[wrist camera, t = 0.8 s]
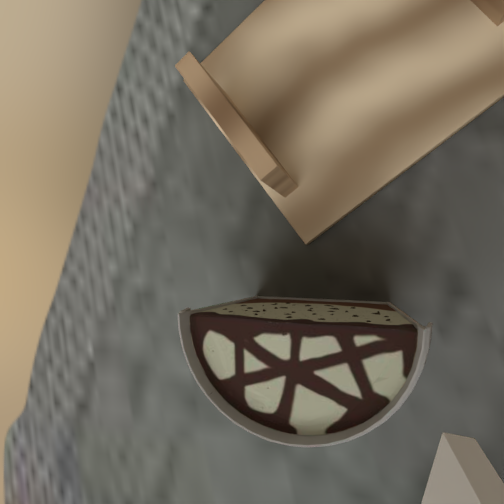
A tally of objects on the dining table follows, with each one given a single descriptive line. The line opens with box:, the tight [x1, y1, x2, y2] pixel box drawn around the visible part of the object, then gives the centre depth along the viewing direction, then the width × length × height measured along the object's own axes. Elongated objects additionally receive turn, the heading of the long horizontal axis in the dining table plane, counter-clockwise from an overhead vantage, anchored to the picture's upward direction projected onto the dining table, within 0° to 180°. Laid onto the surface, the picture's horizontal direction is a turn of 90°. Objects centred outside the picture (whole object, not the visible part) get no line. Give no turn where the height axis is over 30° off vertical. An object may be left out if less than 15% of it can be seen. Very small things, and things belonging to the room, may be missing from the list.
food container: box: [178, 296, 433, 447], centre depth 21 cm, size 12×6×10 cm, turn 90°
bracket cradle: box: [175, 0, 504, 245], centre depth 23 cm, size 16×19×7 cm
